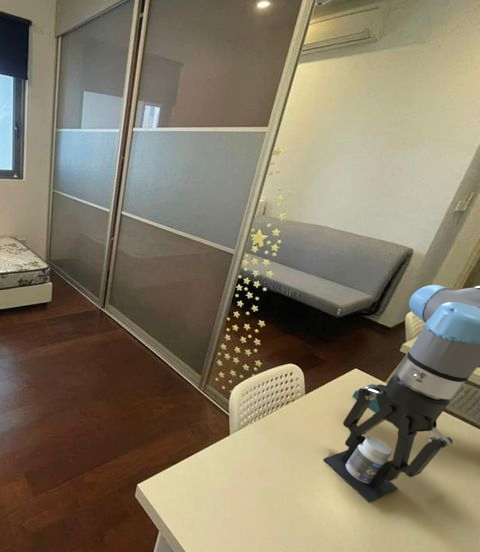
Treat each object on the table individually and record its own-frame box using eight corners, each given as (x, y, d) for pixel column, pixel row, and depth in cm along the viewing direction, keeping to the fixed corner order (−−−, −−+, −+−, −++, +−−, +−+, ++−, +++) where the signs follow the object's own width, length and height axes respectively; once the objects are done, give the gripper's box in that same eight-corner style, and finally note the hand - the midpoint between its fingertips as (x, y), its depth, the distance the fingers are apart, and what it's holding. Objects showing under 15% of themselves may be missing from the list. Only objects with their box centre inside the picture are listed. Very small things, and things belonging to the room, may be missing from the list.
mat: (397, 489, 64) (398, 487, 64) (369, 502, 61) (370, 501, 61) (350, 449, 72) (351, 448, 71) (323, 459, 68) (324, 458, 68)
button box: (403, 413, 84) (411, 402, 82) (384, 419, 81) (392, 408, 80) (369, 391, 91) (376, 380, 89) (351, 396, 88) (358, 385, 86)
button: (396, 399, 84) (400, 393, 83) (387, 401, 82) (391, 396, 81) (379, 388, 87) (382, 383, 86) (370, 390, 86) (373, 385, 85)
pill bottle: (362, 486, 63) (383, 458, 60) (339, 464, 67) (357, 436, 64) (379, 481, 64) (400, 453, 61) (355, 460, 69) (374, 432, 65)
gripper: (354, 356, 63) (307, 439, 72) (481, 432, 48) (400, 523, 57) (378, 351, 65) (329, 432, 75) (505, 421, 50) (424, 511, 60)
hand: (360, 471), depth 66 cm, fingers closed on pill bottle, 5 cm apart
